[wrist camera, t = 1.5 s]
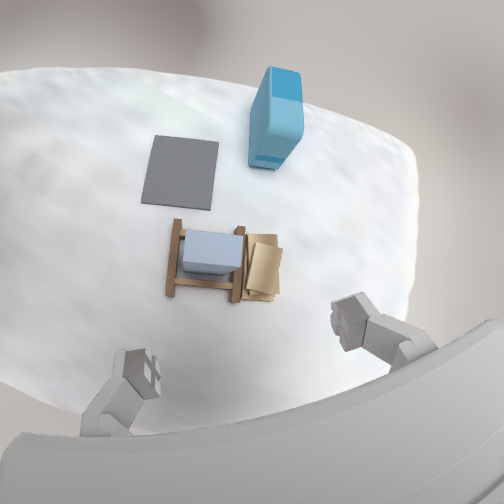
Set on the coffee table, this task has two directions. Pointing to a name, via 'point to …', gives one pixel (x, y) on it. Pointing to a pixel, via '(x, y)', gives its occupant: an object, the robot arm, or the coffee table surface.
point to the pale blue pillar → (211, 252)
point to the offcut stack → (260, 267)
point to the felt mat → (180, 173)
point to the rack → (172, 280)
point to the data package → (276, 118)
